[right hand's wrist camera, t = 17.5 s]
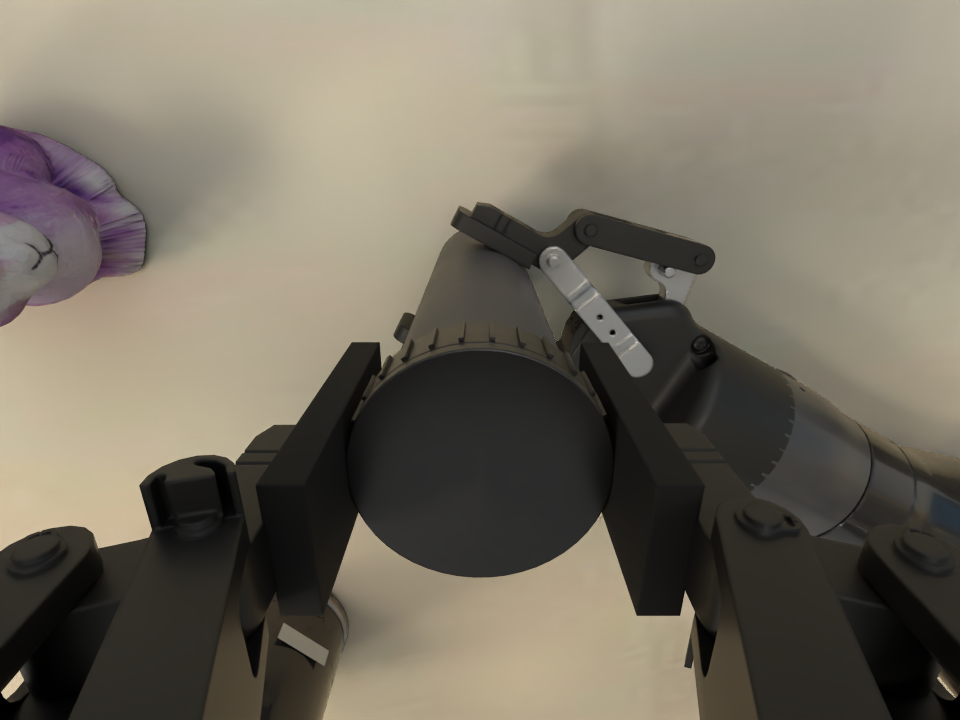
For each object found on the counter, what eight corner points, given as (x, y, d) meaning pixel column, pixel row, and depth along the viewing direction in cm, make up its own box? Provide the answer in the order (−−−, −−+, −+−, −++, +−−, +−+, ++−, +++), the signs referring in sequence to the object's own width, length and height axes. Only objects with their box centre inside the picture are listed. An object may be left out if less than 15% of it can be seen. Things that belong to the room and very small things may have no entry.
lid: (316, 465, 12) (293, 508, 11) (438, 268, 11) (431, 286, 9) (512, 566, 14) (515, 616, 12) (652, 402, 12) (676, 438, 10)
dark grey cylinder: (520, 311, 30) (580, 543, 12) (438, 310, 30) (376, 541, 12) (524, 226, 28) (601, 352, 10) (436, 225, 28) (361, 349, 10)
